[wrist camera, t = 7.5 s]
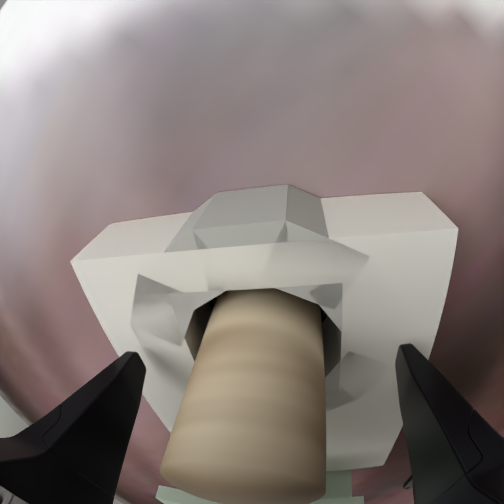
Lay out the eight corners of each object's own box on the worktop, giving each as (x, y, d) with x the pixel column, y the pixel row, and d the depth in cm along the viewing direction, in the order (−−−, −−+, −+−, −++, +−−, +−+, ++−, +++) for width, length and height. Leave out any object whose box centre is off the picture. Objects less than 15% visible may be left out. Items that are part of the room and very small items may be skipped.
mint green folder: (347, 442, 19) (349, 529, 13) (213, 442, 20) (194, 522, 14) (356, 395, 16) (364, 510, 9) (186, 397, 17) (155, 497, 11)
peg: (320, 328, 13) (323, 508, 6) (231, 332, 14) (189, 500, 7) (316, 248, 11) (329, 465, 4) (211, 256, 12) (131, 448, 5)
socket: (379, 427, 17) (383, 465, 15) (206, 431, 19) (197, 466, 17) (422, 175, 9) (460, 207, 7) (106, 210, 12) (63, 245, 9)
